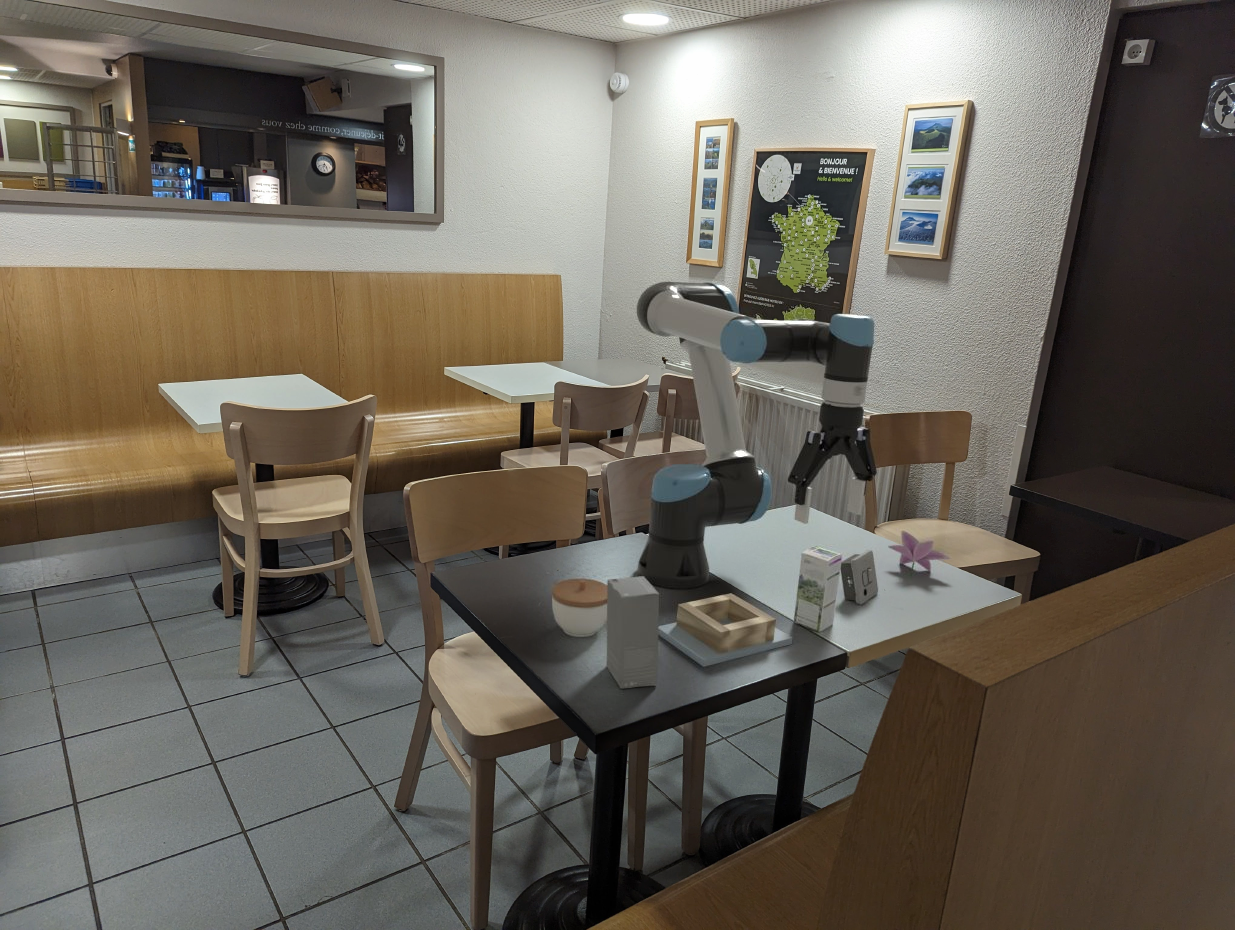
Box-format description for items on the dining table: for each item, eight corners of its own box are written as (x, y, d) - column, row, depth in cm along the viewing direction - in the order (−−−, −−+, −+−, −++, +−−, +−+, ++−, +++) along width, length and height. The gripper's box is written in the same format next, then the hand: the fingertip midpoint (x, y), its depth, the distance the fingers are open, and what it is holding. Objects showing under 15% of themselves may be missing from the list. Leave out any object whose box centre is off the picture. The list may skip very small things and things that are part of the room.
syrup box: (834, 624, 163) (844, 552, 160) (818, 633, 159) (828, 560, 155) (807, 614, 167) (816, 544, 163) (792, 623, 163) (801, 551, 159)
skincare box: (658, 686, 136) (665, 594, 132) (615, 690, 134) (621, 597, 130) (641, 661, 144) (648, 573, 140) (600, 665, 142) (606, 575, 138)
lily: (952, 586, 189) (956, 544, 192) (921, 574, 183) (926, 530, 185) (904, 584, 199) (909, 544, 201) (874, 572, 192) (879, 531, 195)
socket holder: (703, 666, 144) (706, 638, 142) (656, 632, 155) (658, 606, 154) (791, 643, 154) (795, 617, 153) (741, 613, 165) (744, 588, 164)
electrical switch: (860, 606, 173) (862, 562, 171) (836, 601, 176) (838, 557, 174) (878, 594, 180) (880, 551, 178) (855, 589, 183) (857, 547, 181)
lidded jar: (553, 615, 160) (555, 567, 157) (610, 619, 159) (614, 572, 157) (547, 641, 149) (549, 591, 147) (608, 645, 149) (611, 595, 147)
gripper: (806, 410, 143) (792, 531, 148) (906, 403, 156) (890, 515, 161) (775, 402, 149) (763, 518, 154) (874, 396, 162) (859, 504, 167)
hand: (828, 517), depth 157 cm, fingers open, 13 cm apart
